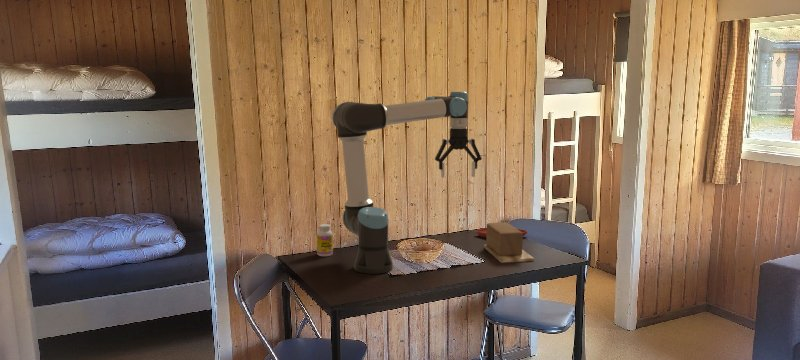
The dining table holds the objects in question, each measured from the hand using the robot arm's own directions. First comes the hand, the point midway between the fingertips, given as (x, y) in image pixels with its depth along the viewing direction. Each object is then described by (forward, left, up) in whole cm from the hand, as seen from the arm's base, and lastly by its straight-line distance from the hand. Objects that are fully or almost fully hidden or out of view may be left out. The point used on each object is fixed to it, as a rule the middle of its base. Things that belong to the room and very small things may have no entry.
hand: (458, 176), depth 271 cm
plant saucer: (+26, +17, -32) cm, 45 cm away
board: (+19, -13, -32) cm, 39 cm away
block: (+18, -1, -26) cm, 31 cm away
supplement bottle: (-58, -2, -32) cm, 66 cm away
